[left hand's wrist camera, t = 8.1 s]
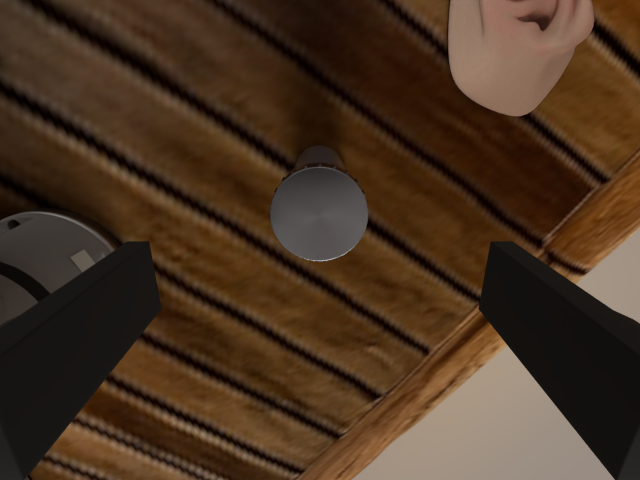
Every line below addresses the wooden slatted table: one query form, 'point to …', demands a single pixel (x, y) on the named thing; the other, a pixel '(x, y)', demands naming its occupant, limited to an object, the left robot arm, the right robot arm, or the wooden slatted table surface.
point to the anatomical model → (514, 48)
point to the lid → (319, 212)
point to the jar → (319, 156)
